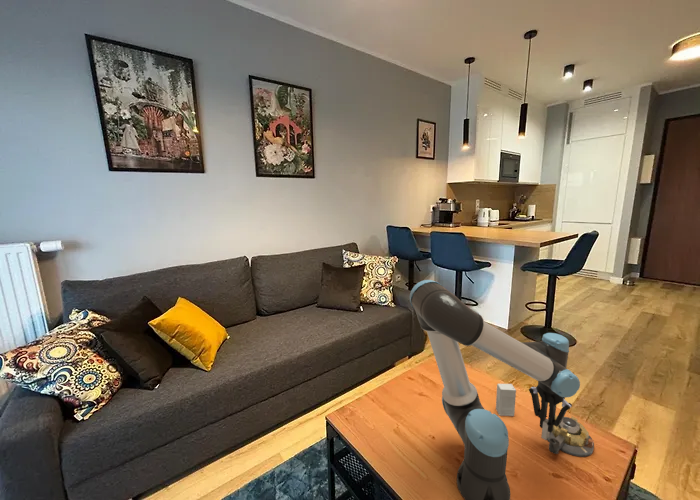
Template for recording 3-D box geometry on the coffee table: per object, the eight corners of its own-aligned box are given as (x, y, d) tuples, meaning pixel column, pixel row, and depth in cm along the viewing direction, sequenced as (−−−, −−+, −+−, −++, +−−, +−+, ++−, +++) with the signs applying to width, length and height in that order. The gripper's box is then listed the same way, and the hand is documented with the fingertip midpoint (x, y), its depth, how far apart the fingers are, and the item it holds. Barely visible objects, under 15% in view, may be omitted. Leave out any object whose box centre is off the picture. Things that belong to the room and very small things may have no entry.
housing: (584, 464, 101) (587, 444, 99) (536, 436, 113) (537, 418, 111) (599, 442, 109) (602, 424, 108) (553, 418, 121) (555, 401, 120)
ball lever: (570, 464, 98) (571, 453, 98) (534, 442, 107) (535, 432, 106) (591, 436, 109) (592, 426, 108) (557, 418, 118) (558, 409, 117)
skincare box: (510, 409, 127) (512, 383, 125) (514, 416, 123) (516, 390, 121) (495, 408, 128) (496, 383, 125) (498, 415, 123) (500, 389, 121)
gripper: (578, 382, 101) (570, 443, 105) (536, 365, 111) (530, 421, 116) (569, 391, 97) (561, 454, 101) (526, 373, 107) (521, 431, 111)
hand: (545, 437), depth 108 cm, fingers closed
